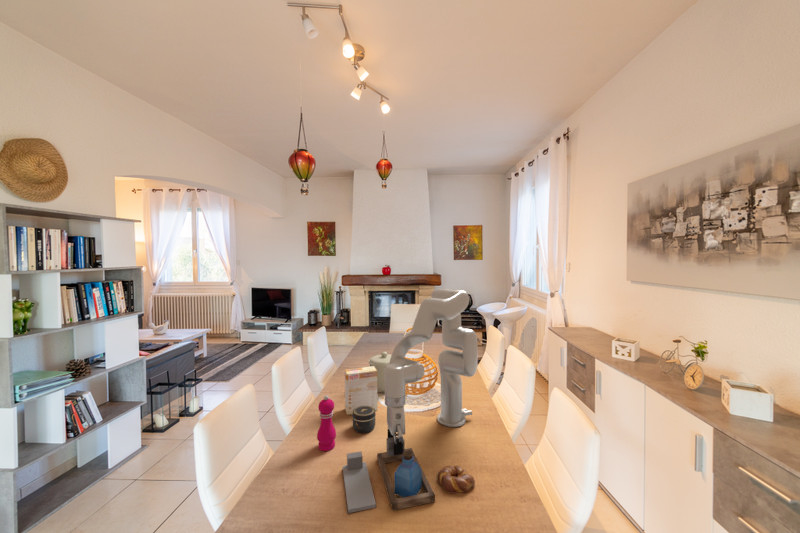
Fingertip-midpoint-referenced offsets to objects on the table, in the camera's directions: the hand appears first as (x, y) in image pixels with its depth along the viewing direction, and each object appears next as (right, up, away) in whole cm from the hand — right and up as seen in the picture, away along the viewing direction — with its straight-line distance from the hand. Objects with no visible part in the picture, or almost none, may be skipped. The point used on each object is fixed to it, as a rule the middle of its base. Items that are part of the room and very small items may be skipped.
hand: (394, 446), depth 114 cm
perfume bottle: (+4, -5, -16) cm, 17 cm away
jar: (-14, -5, +22) cm, 26 cm away
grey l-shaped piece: (-12, -5, -14) cm, 19 cm away
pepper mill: (-27, -5, +8) cm, 28 cm away
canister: (-7, -4, +63) cm, 64 cm away
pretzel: (+20, -6, -12) cm, 24 cm away
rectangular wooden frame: (+3, -5, -10) cm, 12 cm away
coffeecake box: (-17, -5, +39) cm, 43 cm away
